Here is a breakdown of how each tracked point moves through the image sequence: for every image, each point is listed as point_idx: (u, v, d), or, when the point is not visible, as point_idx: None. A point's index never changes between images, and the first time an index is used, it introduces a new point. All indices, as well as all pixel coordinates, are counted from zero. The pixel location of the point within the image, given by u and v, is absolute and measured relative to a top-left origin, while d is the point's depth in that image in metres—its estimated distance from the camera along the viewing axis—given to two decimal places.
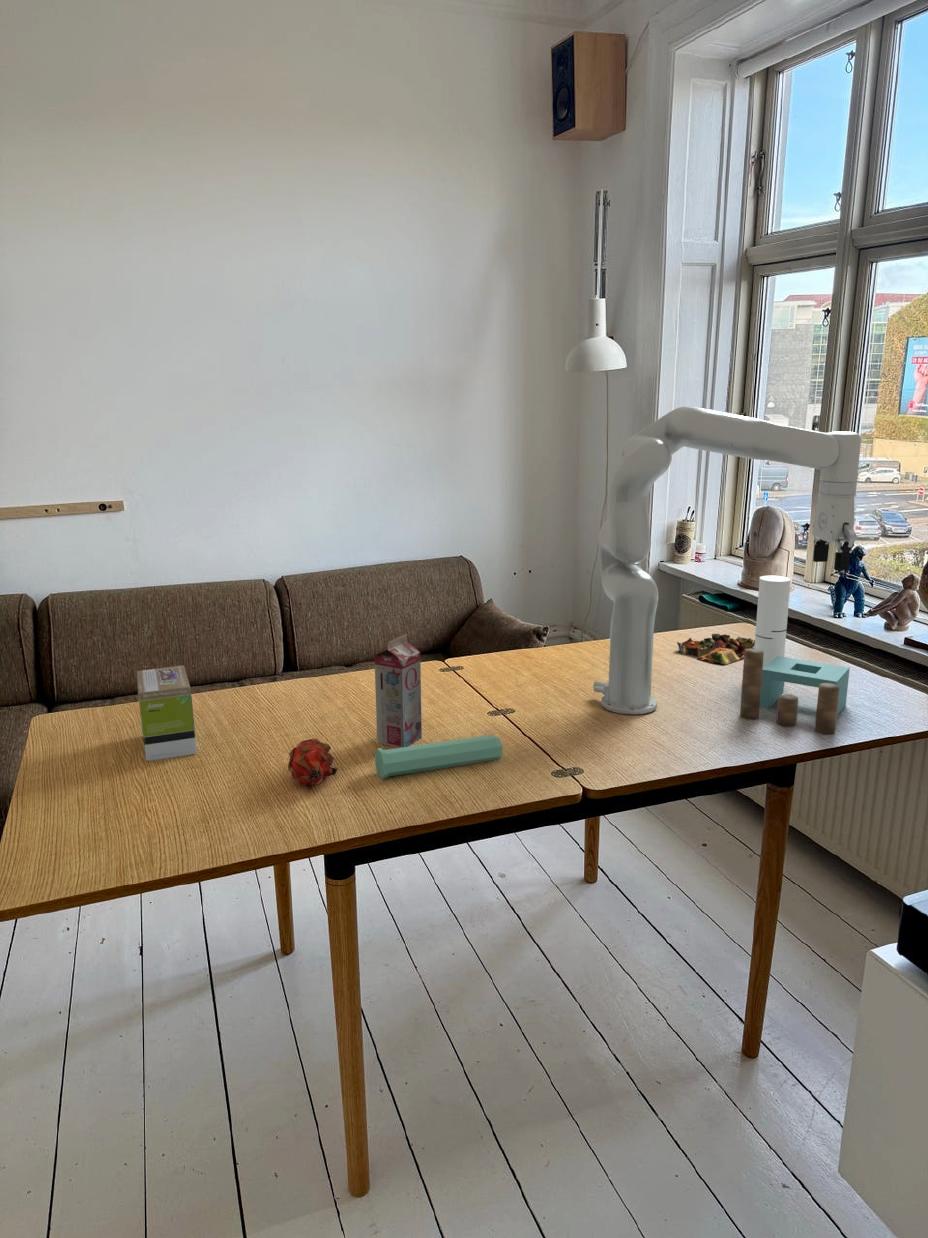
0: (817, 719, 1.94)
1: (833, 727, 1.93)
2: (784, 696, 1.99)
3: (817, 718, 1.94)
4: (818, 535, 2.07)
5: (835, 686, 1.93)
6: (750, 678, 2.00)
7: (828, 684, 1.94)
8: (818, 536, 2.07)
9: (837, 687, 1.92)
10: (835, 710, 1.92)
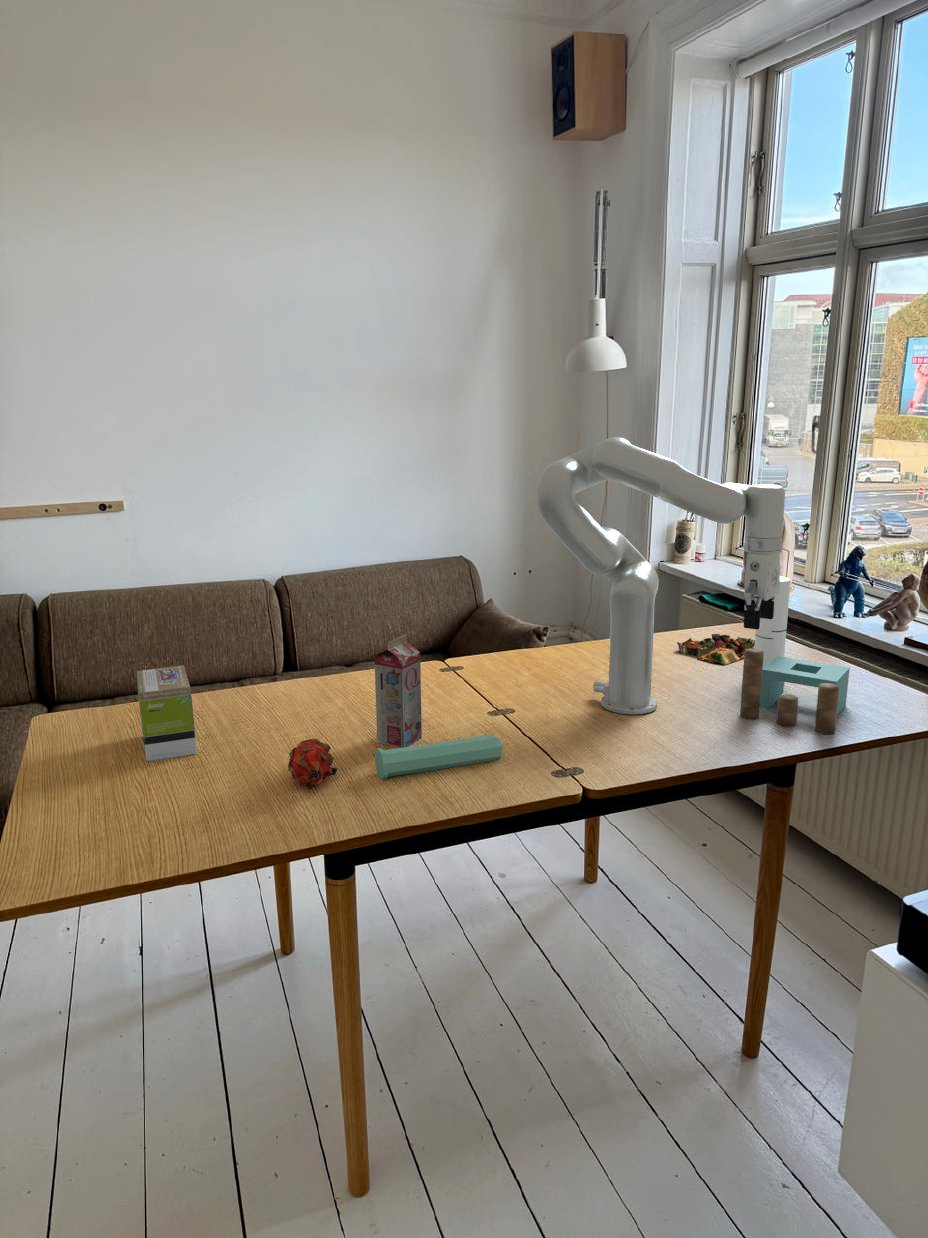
0: (817, 719, 1.94)
1: (833, 727, 1.93)
2: (784, 696, 1.99)
3: (817, 718, 1.94)
4: (771, 595, 1.94)
5: (835, 686, 1.93)
6: (750, 678, 2.00)
7: (828, 684, 1.94)
8: (771, 596, 1.94)
9: (837, 687, 1.92)
10: (835, 710, 1.92)
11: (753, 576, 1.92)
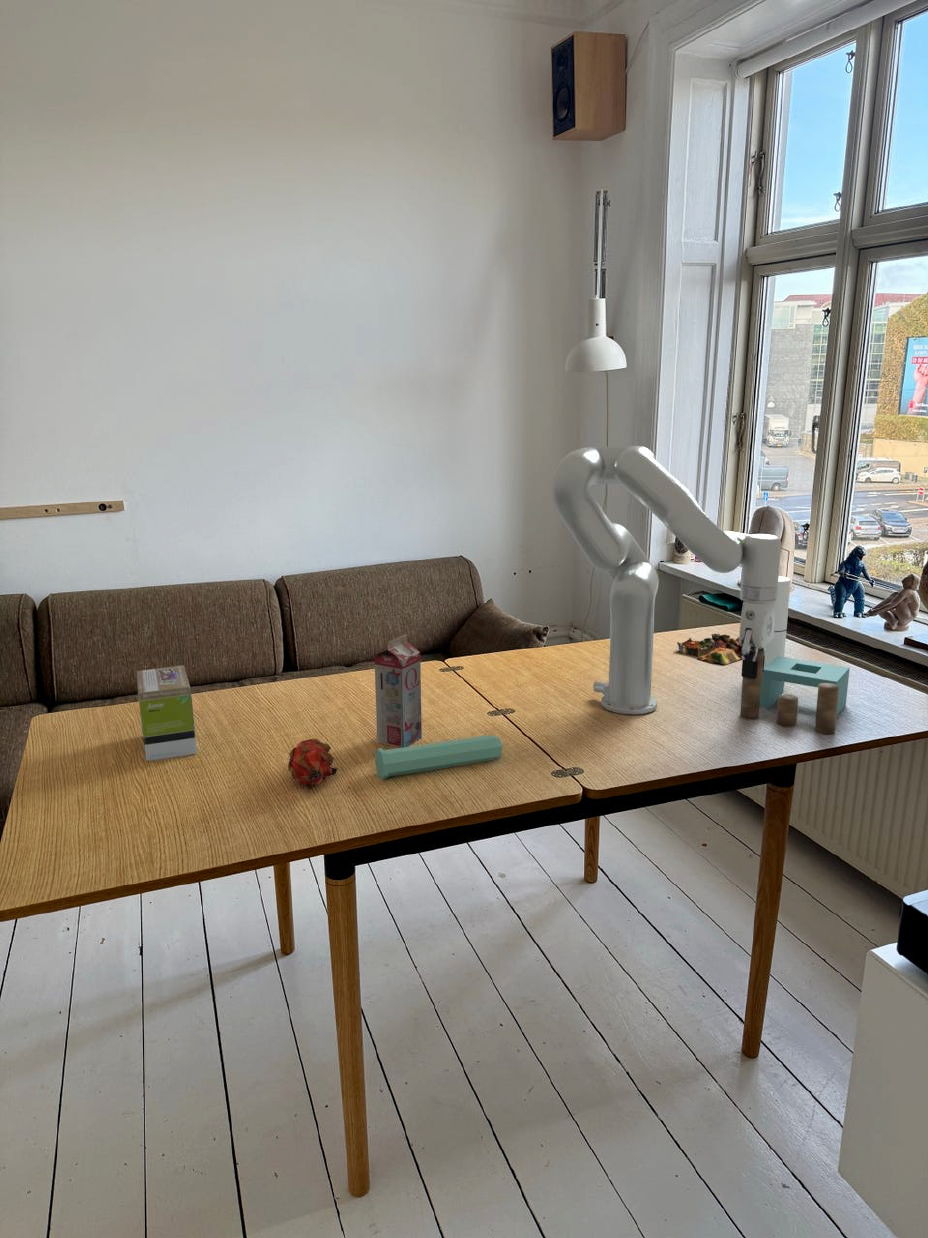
0: (816, 719, 1.94)
1: (833, 727, 1.93)
2: (784, 696, 1.99)
3: (817, 718, 1.94)
4: (766, 643, 1.97)
5: (834, 686, 1.93)
6: None
7: (827, 684, 1.94)
8: (766, 644, 1.97)
9: (836, 687, 1.92)
10: (835, 710, 1.92)
11: (748, 624, 1.95)
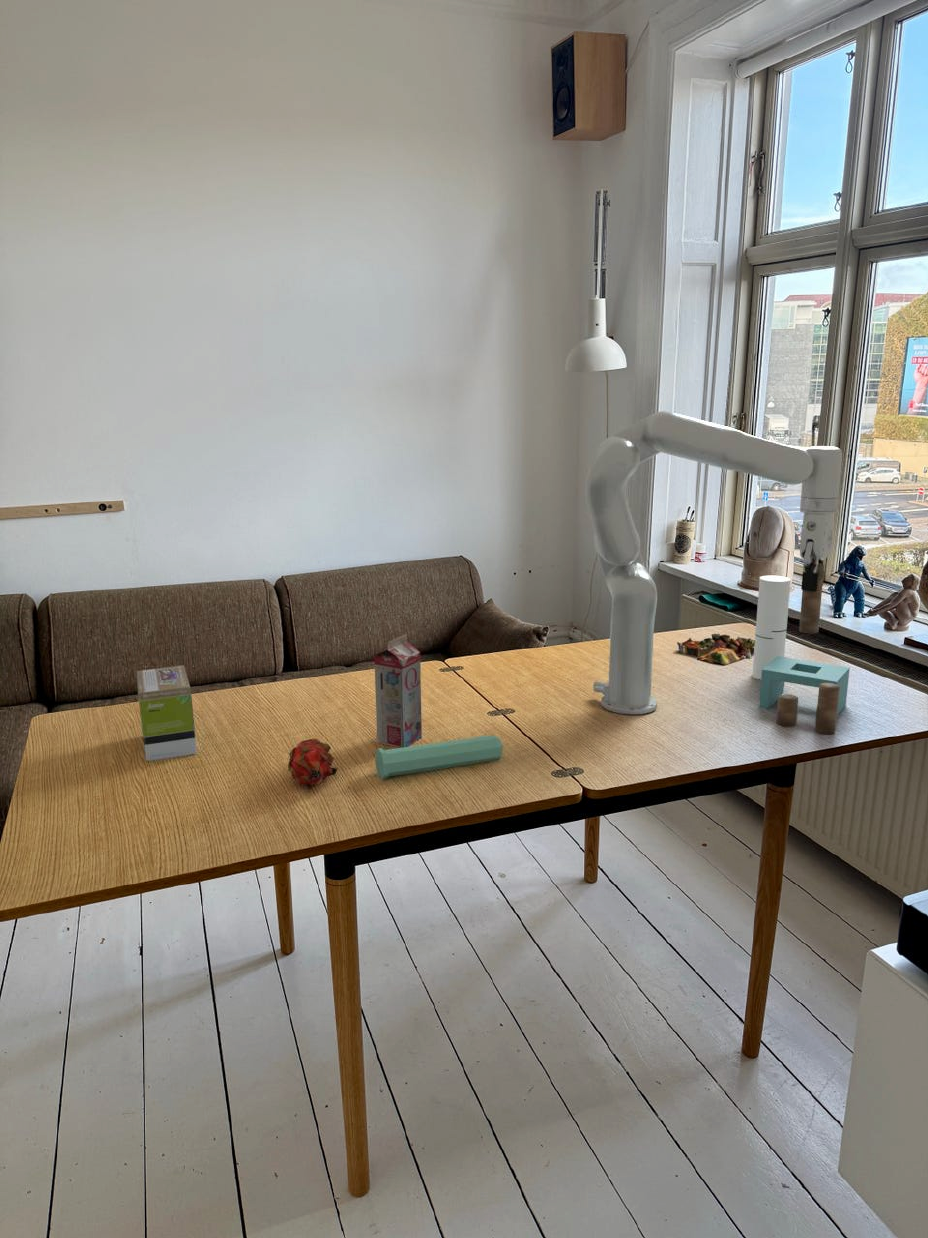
0: (817, 719, 1.94)
1: (833, 727, 1.93)
2: (784, 696, 1.99)
3: (817, 718, 1.94)
4: (826, 555, 1.98)
5: (835, 686, 1.93)
6: (811, 591, 2.01)
7: (829, 684, 1.94)
8: (826, 556, 1.98)
9: (837, 687, 1.92)
10: (835, 710, 1.92)
11: (809, 536, 1.96)
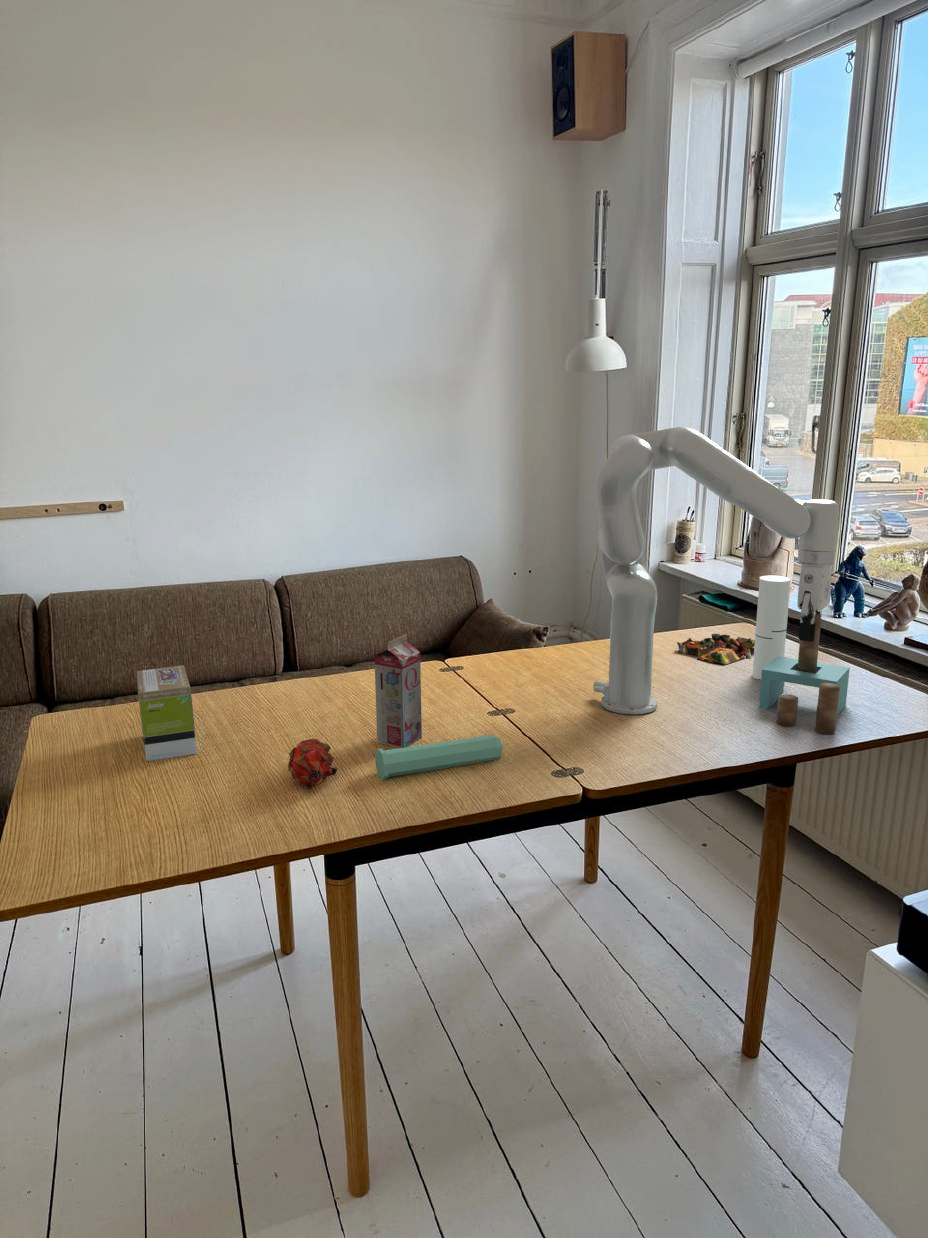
0: (817, 719, 1.94)
1: (833, 727, 1.93)
2: (784, 696, 1.99)
3: (817, 717, 1.94)
4: (824, 606, 2.01)
5: (836, 686, 1.93)
6: (808, 641, 2.04)
7: (829, 684, 1.94)
8: (823, 607, 2.02)
9: (838, 687, 1.92)
10: (835, 710, 1.92)
11: (807, 588, 1.99)
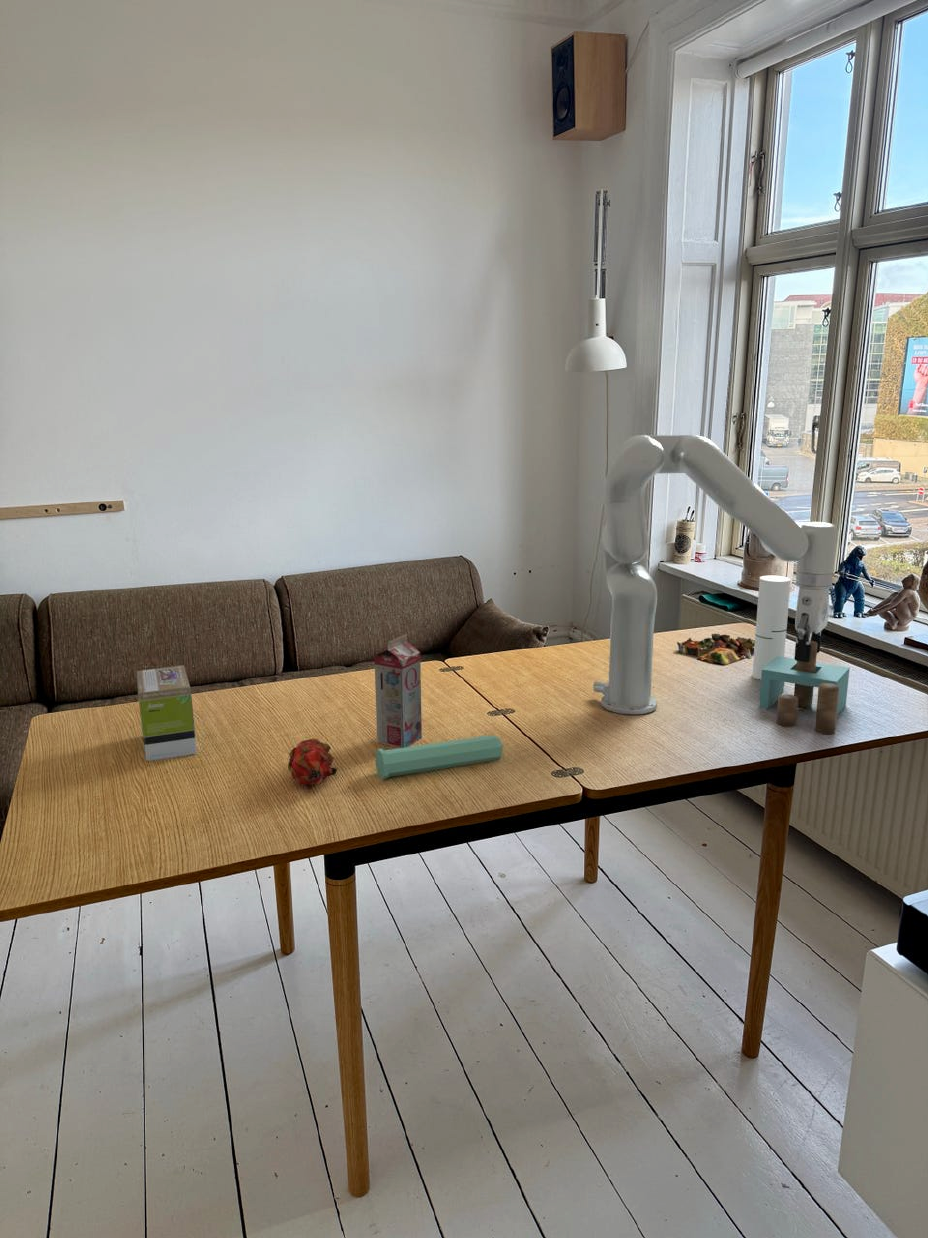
0: (816, 719, 1.94)
1: (832, 727, 1.93)
2: (784, 696, 1.99)
3: (817, 718, 1.94)
4: (821, 628, 2.03)
5: (835, 686, 1.92)
6: (805, 669, 2.06)
7: (828, 684, 1.94)
8: (821, 629, 2.03)
9: (836, 687, 1.92)
10: (834, 710, 1.92)
11: (804, 610, 2.00)
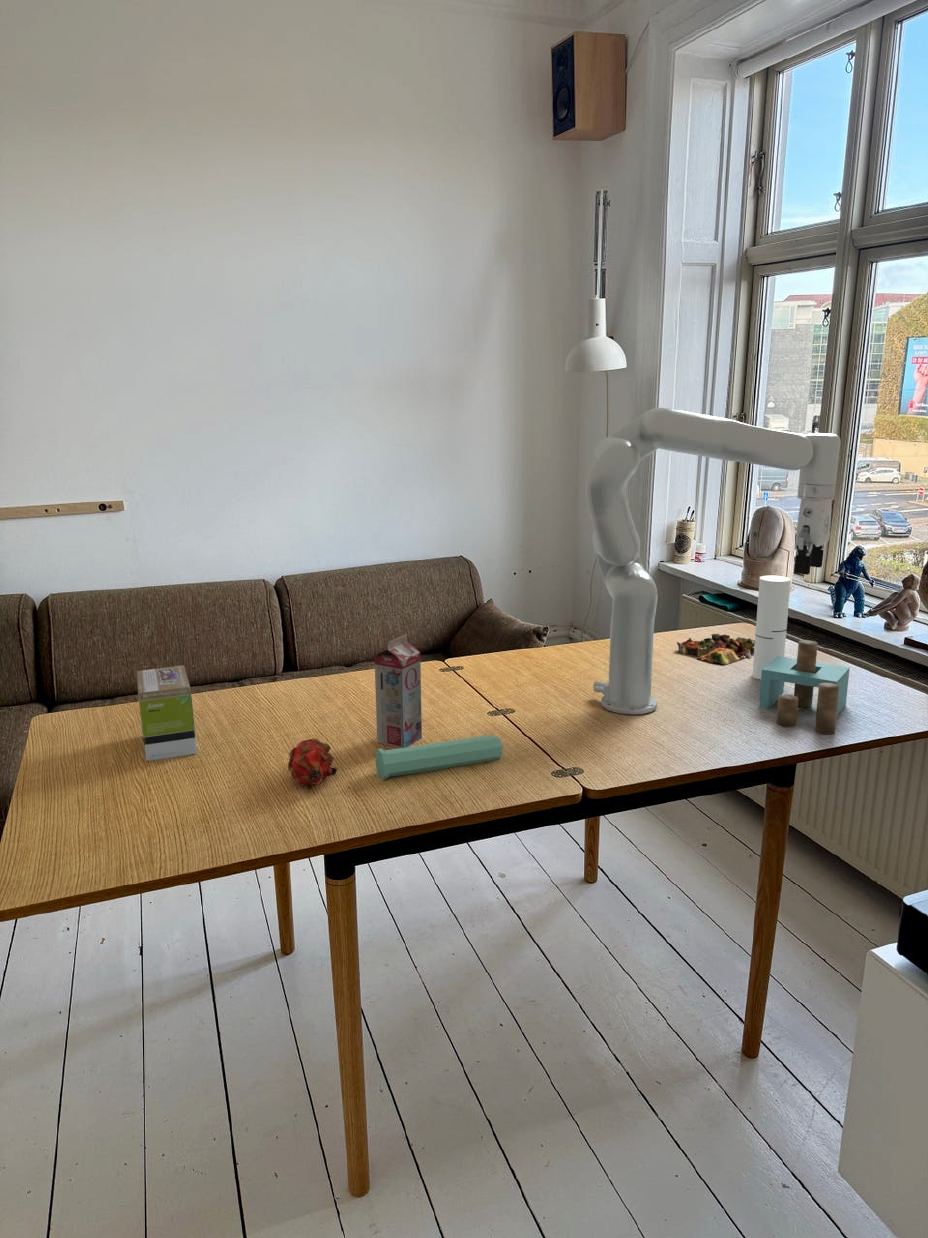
0: (816, 718, 1.95)
1: (832, 727, 1.93)
2: (784, 696, 1.99)
3: (816, 717, 1.94)
4: (823, 542, 1.99)
5: (835, 686, 1.93)
6: (805, 669, 2.06)
7: (828, 684, 1.94)
8: (822, 543, 1.99)
9: (837, 687, 1.92)
10: (834, 710, 1.92)
11: (806, 522, 1.97)
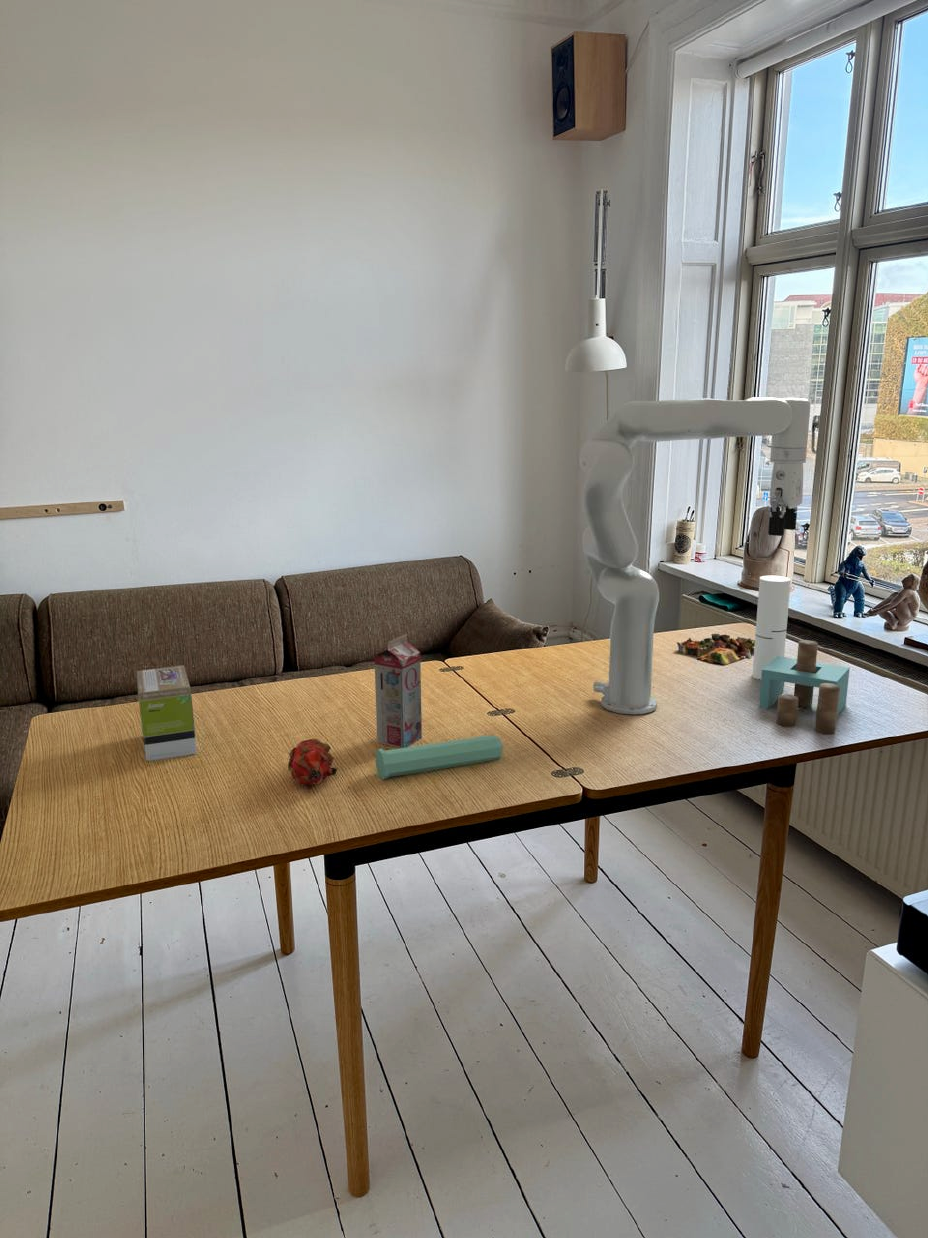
0: (816, 719, 1.94)
1: (832, 727, 1.93)
2: (784, 696, 1.99)
3: (817, 718, 1.94)
4: (795, 504, 2.05)
5: (836, 686, 1.92)
6: (805, 669, 2.06)
7: (829, 684, 1.94)
8: (795, 505, 2.05)
9: (837, 688, 1.92)
10: (834, 710, 1.92)
11: (778, 484, 2.03)
